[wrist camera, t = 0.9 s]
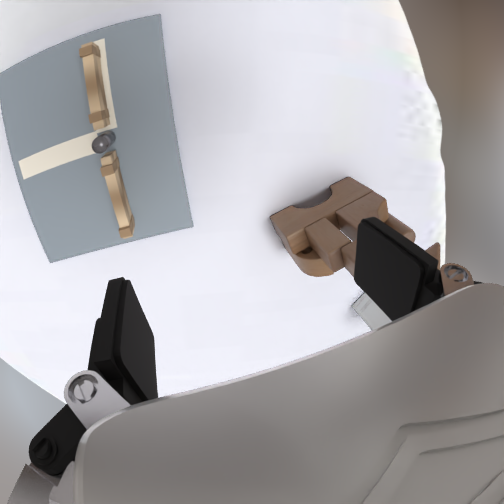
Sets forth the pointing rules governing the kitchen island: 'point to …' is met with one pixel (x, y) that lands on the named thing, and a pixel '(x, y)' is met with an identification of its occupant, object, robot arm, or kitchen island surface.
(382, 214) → the wooden toy
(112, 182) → the tan wooden bar
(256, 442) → the robot arm
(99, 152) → the fence post
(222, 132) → the kitchen island surface
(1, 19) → the kitchen island surface
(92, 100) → the fixed fence rail
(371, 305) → the skincare box
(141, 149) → the board
